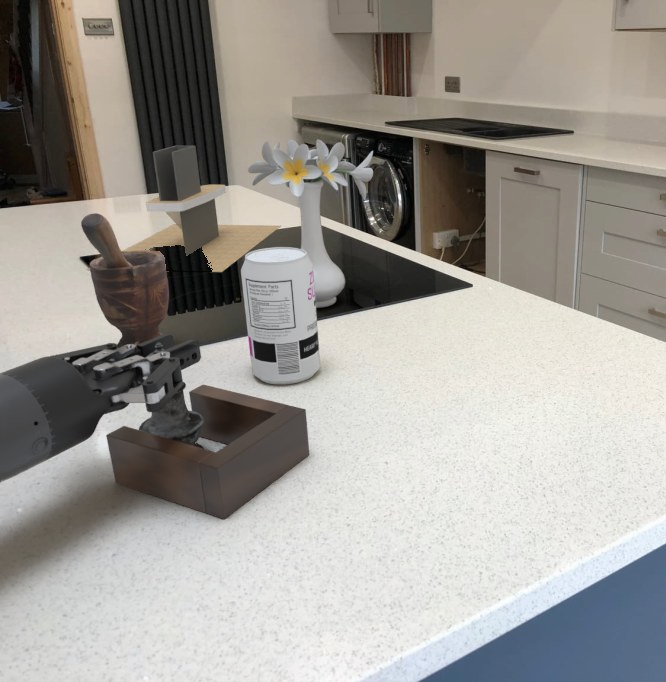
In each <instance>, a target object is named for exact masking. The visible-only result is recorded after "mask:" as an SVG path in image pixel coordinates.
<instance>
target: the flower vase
mask: <svg viewBox="0 0 666 682" xmlns="http://www.w3.org/2000/svg"><path fill="white" fill-rule="evenodd" d="M315 144H316V149H315V148H313V149H309V146H308V145H307V144H305V143H302V144H300V145H299V144H298V143H297V142H296V140H294V139H289V140H288V141H287V143H286V151H284V150H282V149H281V148H280V147H281V143H280V141H278V142H277V143H275V145H274V147H273V149H272V146H271V144H270V142H269V141H268V140H266V141H264V142H263V144H262V147H261V157H262V160H258V161H255V162H253V163H251V165H249V167H248V168H247V172H248V173H249V174H257V175H256V176H255V178H254V179H253V181H252V186H256V185H257V184H259V183H260V182H261V181H262V180H264V179H266V178H267V177H268V178H267V182H268V184H269V185H271V186H280V185H284V184H285V186H286V187H287V188H289V189H290V192H291V193H292V195H293V196H294V197H296V198H297V201H298V204H299V211H300V213H299V215H300V231H301V234H300V236H301V240H300V241H301V243H300V249H302V250H304V251H306V253H307V256H308V257H309V259H310V261H311V262H312V264H313V275H314V288H315V302H316V309H320V308H327V307H330V306H332V305H335V303H337V297H338V296H339V295H340V294H341V293H342V292H343V290H344V288H345V286H346V277H345V274H344V273H343V271H342V269H341V268H340V267H339V266H338V265H337V264H336V263H335V262H333V261H332V259H331V258H330V256H329V254H328V252H327V251H328V250H327V249H326V246H325V241H324V236H323V228H322V218H321V217H322V216H321V194H322V189H323V186H324V181H325V182H327V183H328V184H329V185H330V186H331V187H332V188H333V189H334V190H336V191H339V186H338V185H341V186H343V187H348V186H349V184H348V181H347V179H345V175H344V174H347V175H350V176H352V178H353V180H354V183H355V185H356V186H357V188H358V191H359V195H361V197H362V200H363V201H364V202H365V201H366V199H367V188H366V187H367V186H366V184H365V183H364V182H370V181H371V180H372V178H373V176H374V170H373V168H371V167H368V166H369V164H370V163H371V161H372V158H373V154H374V150H372V151H370V152H369V154H368V155H367V156H366V157H365V159H364V160H363V161H362V162H361V163H360V164H359V165H358V166H356V165H354V164H353V163H351V162H349V161H345V160H342V159H343V157H344V155H345V153H346V152H345V151H346V147H345V145H344V144H343V143H342V142H336V143H335V144H334V145H333V146H332V148H331V149H330V150H329V148H328V146H327V144H326V143H324V141H322V140H321V139H316V141H315ZM341 160H342V161H341ZM323 180H324V181H323Z"/></svg>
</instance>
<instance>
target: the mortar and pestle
mask: <svg viewBox="0 0 666 682" xmlns="http://www.w3.org/2000/svg"><path fill="white" fill-rule="evenodd" d="M80 222H81V223H80V225H81V230H82V231H83V233H84V234H85V237H86V238H87V240H88V241H89V243H90V244H91V245H92V246H93V248H94V249H95V250H96V251H97V252H98V253H99V254H100V256H99V257H98V258H94V259H93V260H91V261H90V262H89V265H88V266H89V268H90V270H89V271H90V277H91V280H92V284H93V288H94V294H95V298H96V301H97V303H98V306H99V308H100V311H101V312H102V314H103V315H104V319H105V320H106V321H107V322H108V323H109V324H110V325H111V326H113V327H115V328H116V329H117V330H118V331H119V332H120V333H121V337H120V338H119V341H118V343H116V344H117V349H118V348H120V347H122V346H124V345H127V344H135V345H136V346H137V345H138V344H141V343H143V342H146V341H148V340H150V339H153V338H155V337H158V336H160V335H163V334H164V333H162V332H160V328H159V326H160V324H161V323H162V322H163V320H164V319H165V318H166V316H167V313H168V309H169V302H170V290H169V288H170V287H169V280H168V277H167V276H168V274H167V272H168V271H166V264H165V257H164V255H163V254H162V253H161V252H160V251H150V250H141V251H138V250H136V251H129V252H127V251H123V250H121V247H120V246H119V242H118V240H117V238H116V234H115V232H114V231H115V230H114V229H113V227H112V225H111V223H110V221H109V220H108V219H107V218H106V217H105V216H104V215H102V214H100V213H97V212H96V213H89V214H87V215H85V216H84V217H83V218H82V219H81V221H80ZM121 251H123V252H121Z"/></svg>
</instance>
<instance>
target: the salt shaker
mask: <svg viewBox="0 0 666 682" xmlns="http://www.w3.org/2000/svg"><path fill="white" fill-rule="evenodd" d="M162 346H163V345H161V343H159V342H157V344H156V346H155V347H156V348H157V350H155V351H154V352H152V353H150V354H149V355H148V356H151V355H154V354H157V353H159V352H163V351H164V350H165V349H162ZM148 356H147V357H148ZM157 368H158V366H157V364H156V365H153V366H152V367H151V368H150V371H151V374H152V373H153V372H154V371H155V370H156V369H157ZM186 387H187V384H186V382H184V381H183V385H182V386H181V388H180V389H179V390H178V391H177V392H176V393H175V394H174V396H173V397H172V398H171V399H170V400H169V401H168V402H167V403H166V405H165V406H164V407H163V408H162V409H161V410H160V411H157V412H151V416H150V417H148V418H147V419H145V420H144V421H143V422H141V424H140V425H139V426H138V430H140V431H144V432H147V433H150V434H154V435H157V436H161V437H164V438H168V439H171V440H175V441H178V442H182V443H185V444H189V445H192V446H196V447H199V448H203V449H205V447H204V446H203V445H201V444H199V443H197V442H198V441H199V439H200V438H201V437H200V433H201V426H202V424H203V423H204V419H203V417H202V415H200V414H199V413H197V412H193V411H192V410H189V409H188V407H187V404H186V399H185V392H184V390H185V388H186Z"/></svg>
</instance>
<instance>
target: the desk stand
mask: <svg viewBox="0 0 666 682" xmlns="http://www.w3.org/2000/svg"><path fill="white" fill-rule="evenodd" d="M188 394H189V402H190V408H191V411H193V412H197V413H199V414H200V415H202V417H203V419H204V423H203V424H202V426H201V433H200V437H199V438H204V439H207V440H210V441H215V442H218V443H221V444H225V446H223V447H222V448H221V449H219V450H217V451H213V450H209V449H205V448H204V447H203V448H204V449H203V448H199V447H196V446H192V445H189V444H185V443H182V442H178V441H175V440H171V439H168V438H164V437H161V436H157V435H154V434H150V433H147V432H144V431H140V430H139V429H136V428H133V427H130V426H126V425H123V426H121V427H119V428H117V429H115V430H113V431H111V432H108V433H107V434H106V435H105V436H106V442H107V447H108V452H109V457H110V462H111V467H112V472H113V477H114V482H115V483H116V484H118V485H121V486H124V487H127V488H130V489H132V490H136V491H139V492H141V493H145V494H147V495H151V496H154V497H157V498H160V499H163V500H166V501H169V502H172V503H173V504H174V503H175V504H177V505H181V506H184V507H186V508H190V509H192V510H195V511H199V512H202V513H205V514H206V515H207V514H208V515H211V516H214V517H217V518H219V519H222V520H225V519H226V518H228V517H229V516H230V515H232V514H233V513H235V511H237V510H238V509H240V508H241V507H242V506H243V505H245V504H246V503H248V502H249V501H250V500H251V499H253V498H254V497H255V496H257V495H258V494H259V493H261V492H263V491H264V490H265V489H266V488H268V487H269V486H270V485H271V484H273V483H274V482H276V481H277V480H278V479H279V478H281V477H282V476H283V475H285V474H286V473H287V472H289V471H290V470H291V469H292V468H294V467H295V466H296V465H298V464H299V463H300V462H302V461H303V460H304V459H306V458H307V457H308V456H309V455H310V446H309V445H310V444H309V432H308V431H309V430H308V420H307V410H306V408H303V407H298V406H294V405H289V404H286V403H282V402H277V401H275V400H270V399H265V398H260V397H257V396H252V395H250V394H249V395H248V394H244V393H240V392H236V391H231V390H228V389H223V388H220V387H219V388H218V387H215V386H211V385H207V384H201V385H199V386H198V387H195V388H194V389H192V390H189V391H188Z"/></svg>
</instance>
